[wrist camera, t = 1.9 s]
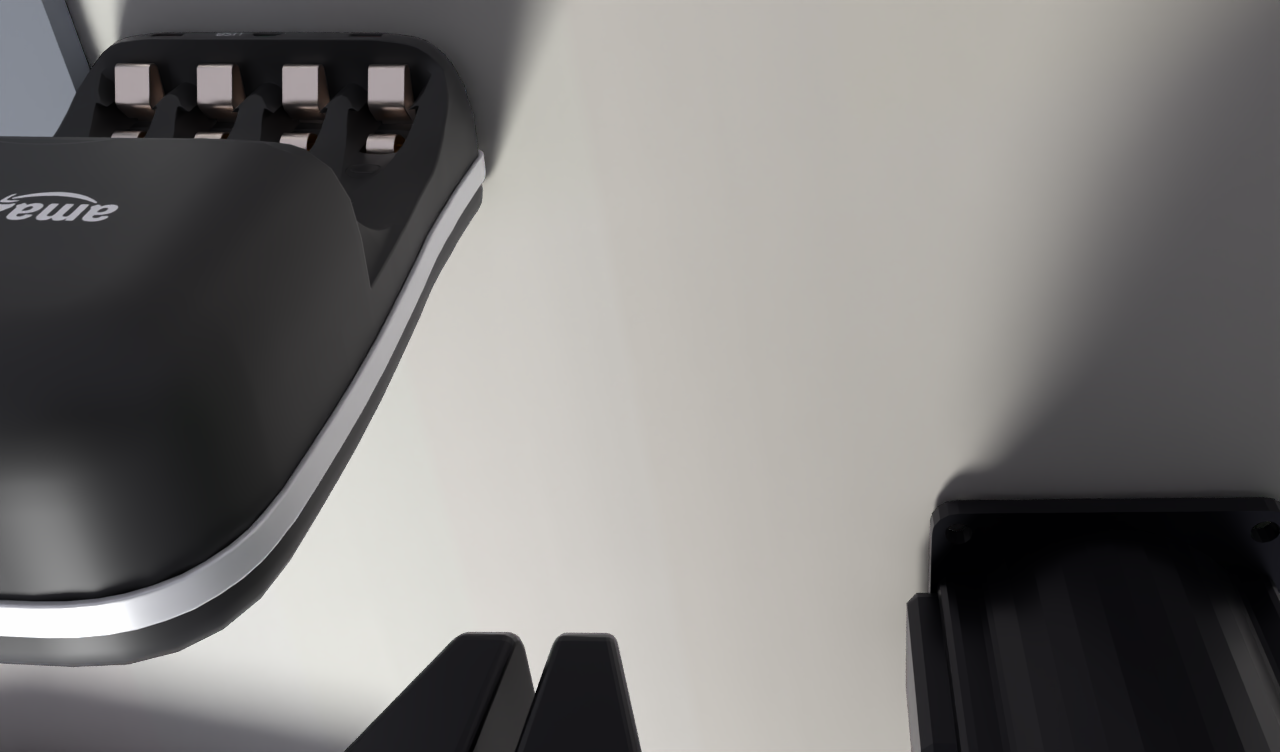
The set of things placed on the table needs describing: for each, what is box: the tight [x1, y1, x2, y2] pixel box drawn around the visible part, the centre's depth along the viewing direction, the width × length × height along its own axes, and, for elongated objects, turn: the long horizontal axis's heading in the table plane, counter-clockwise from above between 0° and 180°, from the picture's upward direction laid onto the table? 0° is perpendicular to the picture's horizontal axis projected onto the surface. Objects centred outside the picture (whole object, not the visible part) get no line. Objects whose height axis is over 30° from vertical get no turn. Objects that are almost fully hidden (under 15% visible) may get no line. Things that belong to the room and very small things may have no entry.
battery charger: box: [0, 32, 486, 667], centre depth 15 cm, size 7×4×11 cm, turn 92°
